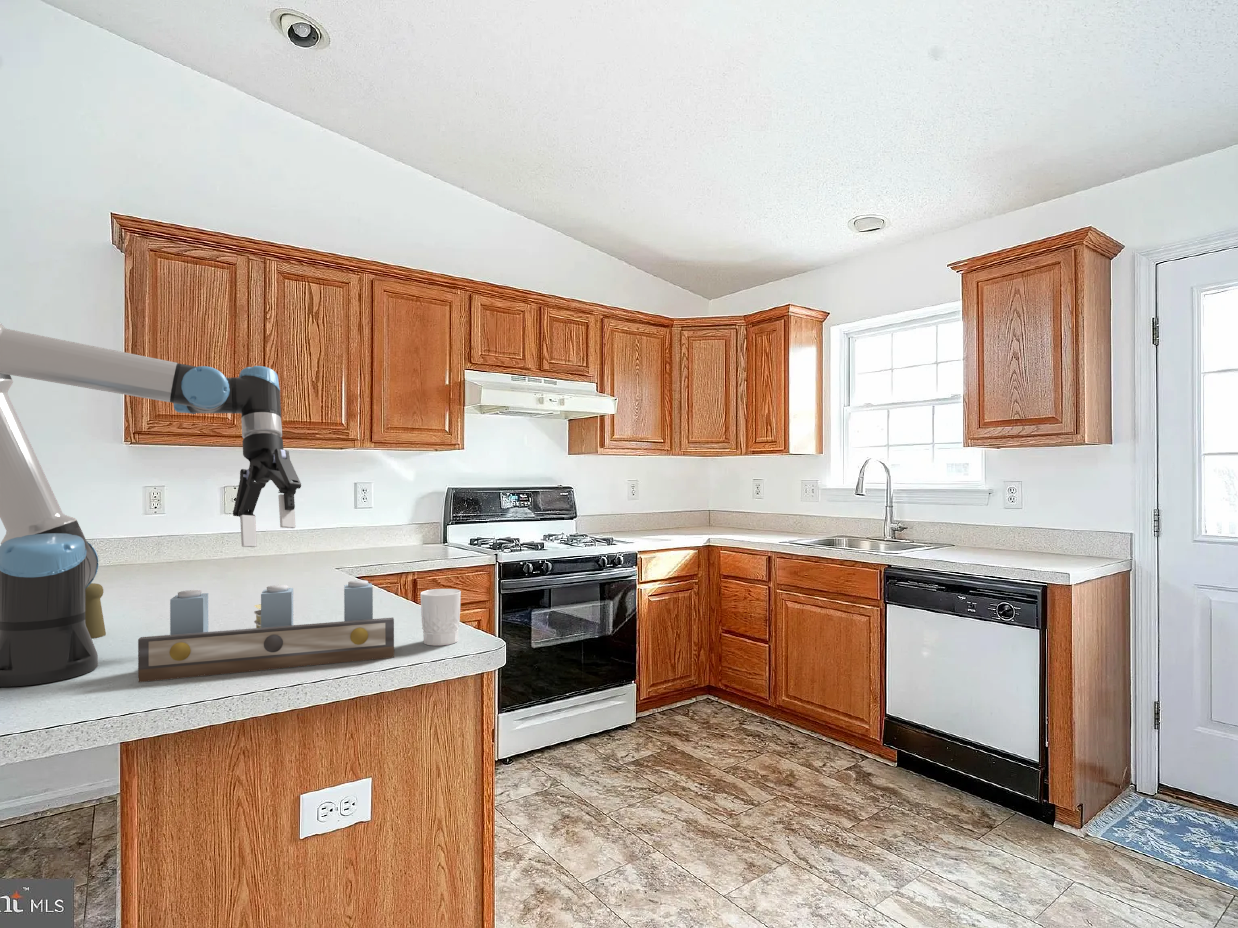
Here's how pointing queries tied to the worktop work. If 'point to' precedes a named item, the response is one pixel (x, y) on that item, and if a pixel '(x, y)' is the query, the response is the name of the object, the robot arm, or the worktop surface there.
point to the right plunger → (358, 600)
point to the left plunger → (189, 612)
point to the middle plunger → (277, 606)
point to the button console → (263, 648)
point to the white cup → (440, 616)
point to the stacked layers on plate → (258, 616)
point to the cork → (94, 611)
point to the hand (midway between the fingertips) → (268, 537)
